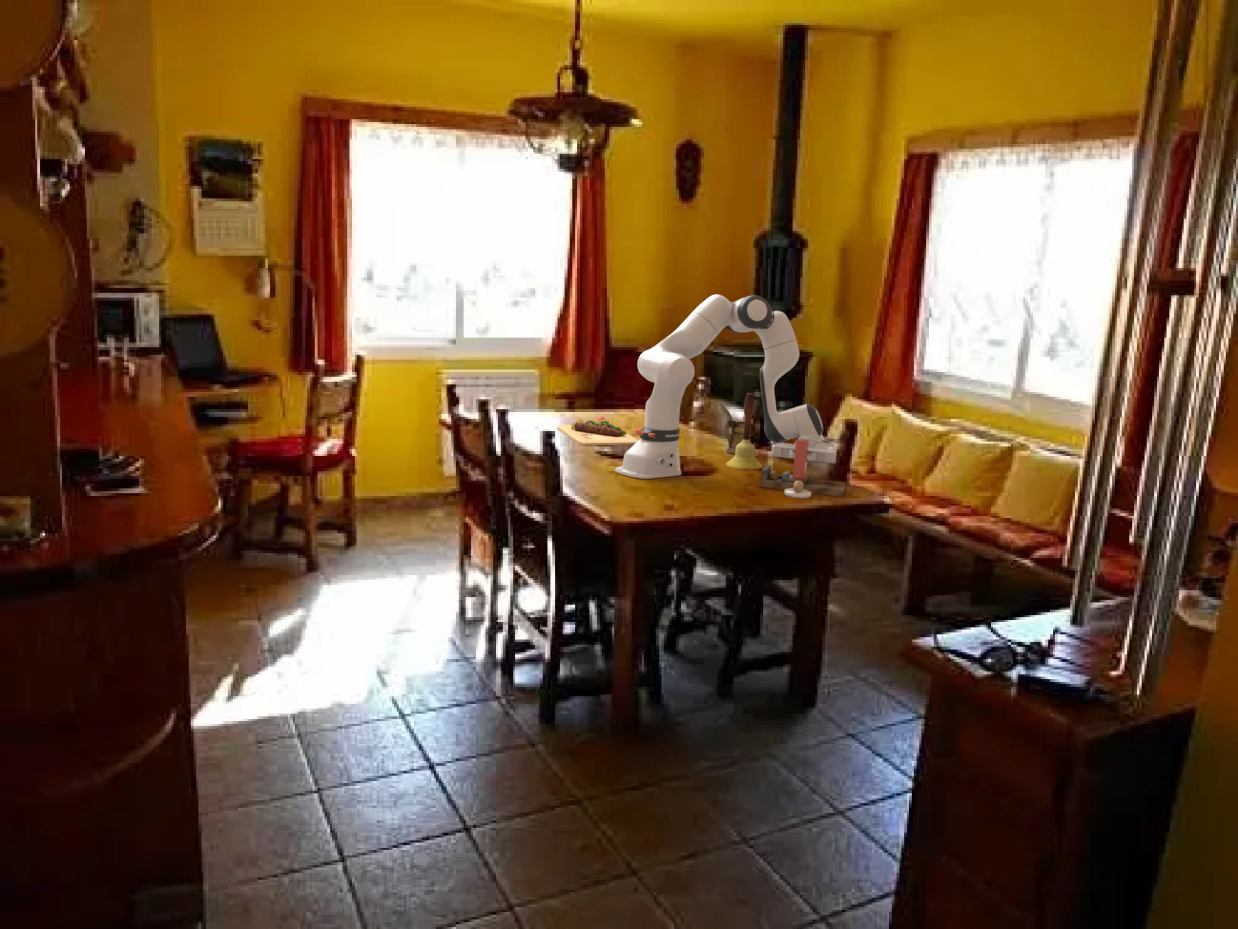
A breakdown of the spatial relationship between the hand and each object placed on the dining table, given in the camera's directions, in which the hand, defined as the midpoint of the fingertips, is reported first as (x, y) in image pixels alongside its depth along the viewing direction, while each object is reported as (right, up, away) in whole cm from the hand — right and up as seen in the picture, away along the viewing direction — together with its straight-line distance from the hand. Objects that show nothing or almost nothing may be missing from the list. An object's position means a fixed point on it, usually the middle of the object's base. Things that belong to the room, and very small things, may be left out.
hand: (800, 457), depth 299 cm
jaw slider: (-1, -8, +3) cm, 9 cm away
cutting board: (-65, +8, +70) cm, 95 cm away
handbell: (-14, -3, +31) cm, 34 cm away
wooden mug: (-15, +2, +52) cm, 54 cm away
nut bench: (+1, -10, +3) cm, 10 cm away
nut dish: (-2, -12, -7) cm, 14 cm away
